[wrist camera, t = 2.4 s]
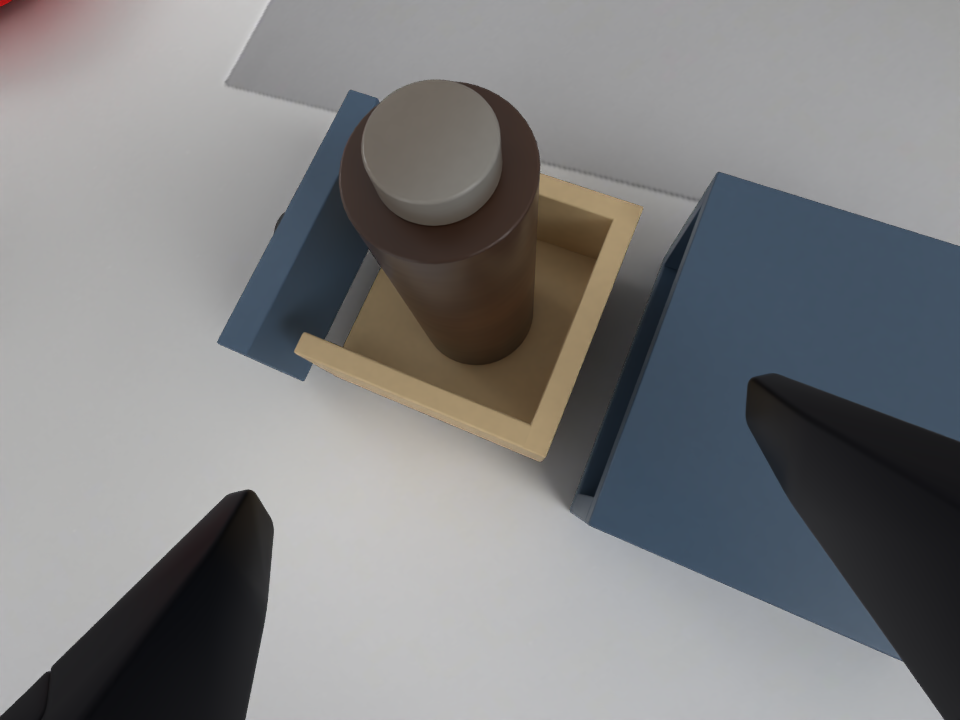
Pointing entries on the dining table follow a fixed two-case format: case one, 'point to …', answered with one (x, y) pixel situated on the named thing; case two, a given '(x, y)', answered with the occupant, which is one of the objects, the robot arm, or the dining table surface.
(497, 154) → the pepper mill
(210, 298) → the dining table surface
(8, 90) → the dining table surface
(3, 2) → the flat cone with hole
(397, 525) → the dining table surface
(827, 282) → the cabinet
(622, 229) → the drawer
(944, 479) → the robot arm
